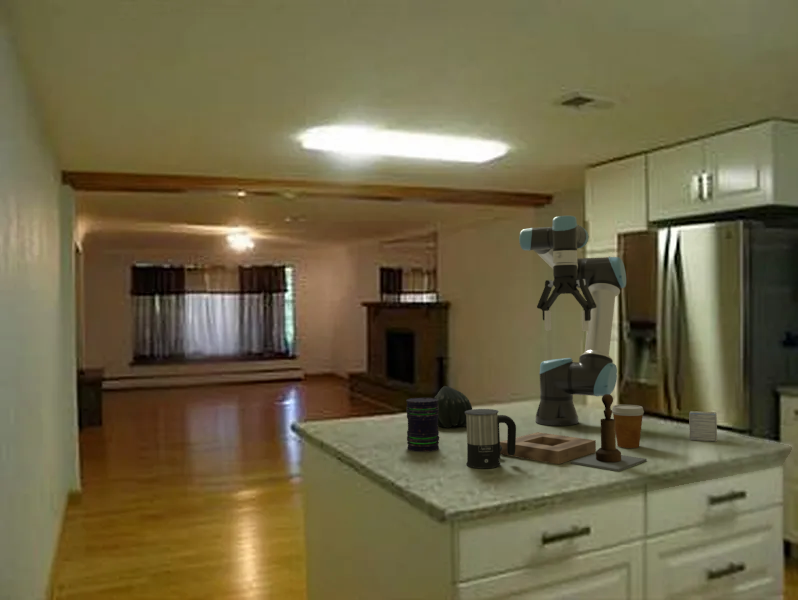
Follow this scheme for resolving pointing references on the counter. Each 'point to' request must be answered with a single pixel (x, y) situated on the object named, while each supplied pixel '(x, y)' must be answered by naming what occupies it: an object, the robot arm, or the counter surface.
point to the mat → (614, 466)
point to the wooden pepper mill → (608, 435)
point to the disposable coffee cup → (628, 425)
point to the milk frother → (487, 437)
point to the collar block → (550, 447)
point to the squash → (452, 407)
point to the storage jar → (422, 424)
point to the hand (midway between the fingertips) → (566, 331)
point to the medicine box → (703, 426)
